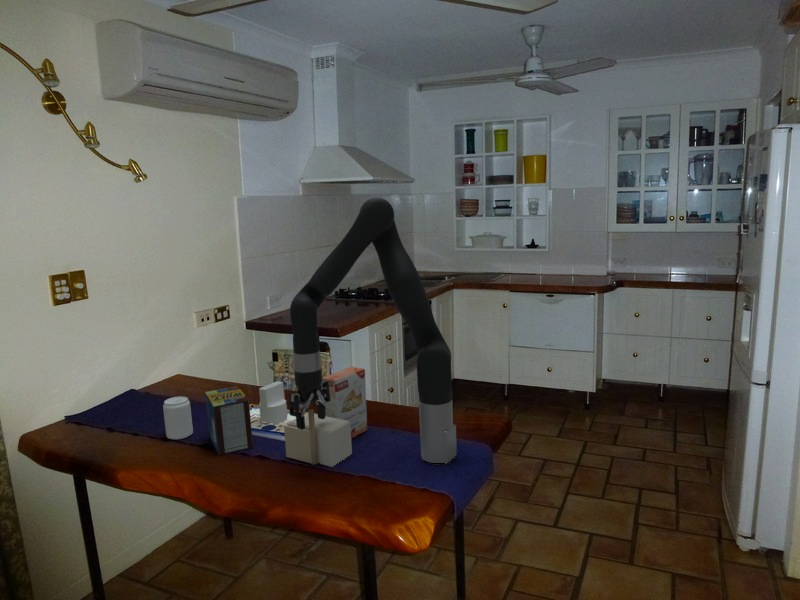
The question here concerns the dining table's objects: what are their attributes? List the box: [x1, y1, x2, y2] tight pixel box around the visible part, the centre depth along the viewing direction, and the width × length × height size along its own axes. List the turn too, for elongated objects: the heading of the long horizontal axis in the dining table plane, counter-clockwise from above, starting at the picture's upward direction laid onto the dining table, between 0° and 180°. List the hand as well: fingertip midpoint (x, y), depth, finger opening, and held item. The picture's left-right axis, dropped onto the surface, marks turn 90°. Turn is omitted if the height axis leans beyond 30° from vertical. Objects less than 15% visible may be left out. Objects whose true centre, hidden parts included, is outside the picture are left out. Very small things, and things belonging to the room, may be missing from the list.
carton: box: [286, 412, 353, 468], centre depth 173 cm, size 16×9×10 cm, turn 58°
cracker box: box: [322, 366, 368, 440], centre depth 184 cm, size 14×6×21 cm, turn 143°
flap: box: [283, 409, 319, 466], centre depth 169 cm, size 11×2×16 cm, turn 58°
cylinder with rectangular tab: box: [258, 380, 288, 424], centre depth 203 cm, size 9×9×12 cm
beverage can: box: [162, 396, 194, 440], centre depth 191 cm, size 8×8×12 cm
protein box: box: [204, 386, 254, 456], centre depth 184 cm, size 10×15×16 cm
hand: (311, 423), depth 165 cm, fingers open, 8 cm apart
